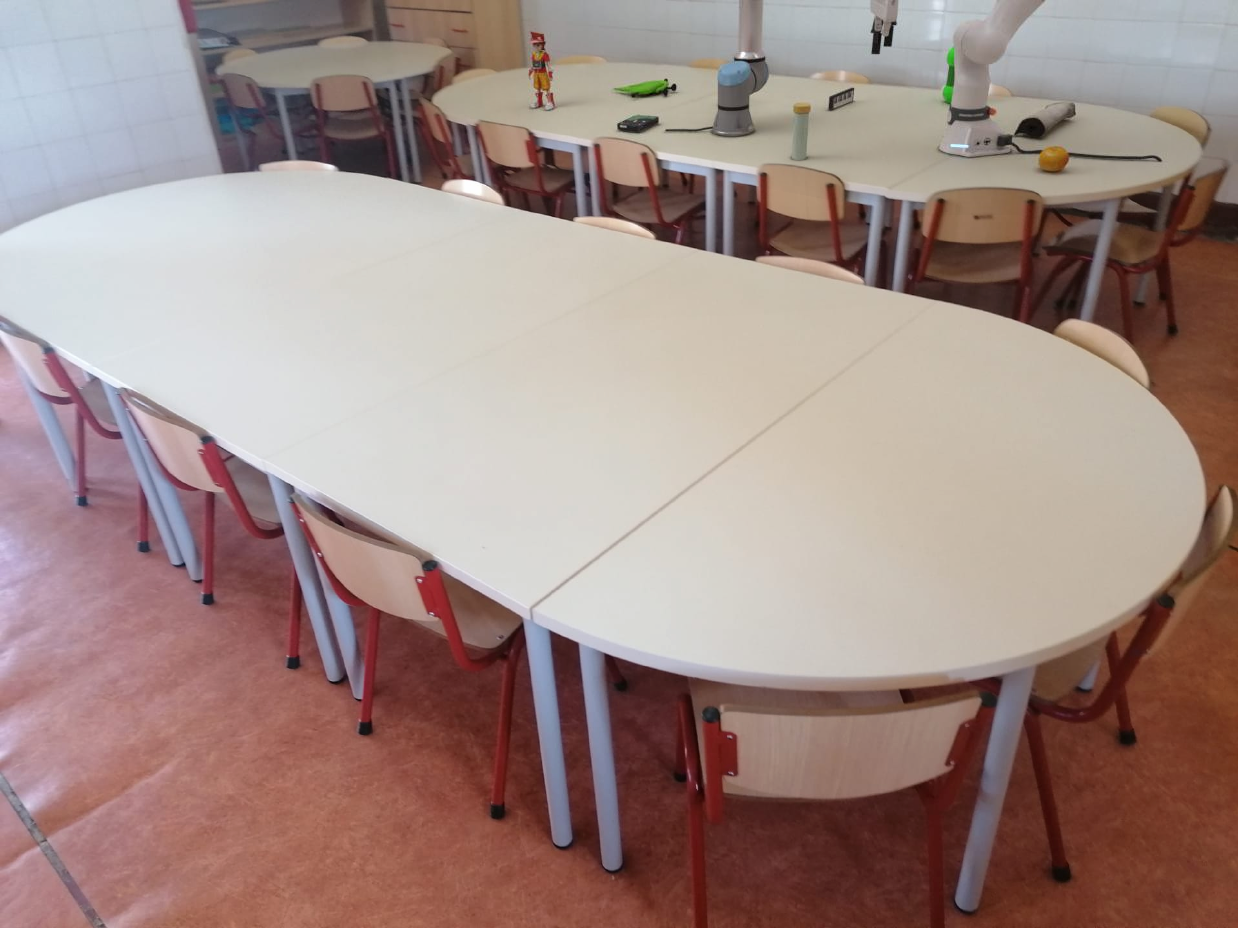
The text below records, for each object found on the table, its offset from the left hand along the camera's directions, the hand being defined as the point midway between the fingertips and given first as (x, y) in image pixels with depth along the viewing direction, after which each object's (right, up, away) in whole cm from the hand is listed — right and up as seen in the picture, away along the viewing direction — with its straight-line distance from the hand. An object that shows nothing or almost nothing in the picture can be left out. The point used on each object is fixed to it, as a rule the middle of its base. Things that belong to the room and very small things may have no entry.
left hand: (881, 50), depth 308 cm
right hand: (-8, -8, -28) cm, 30 cm away
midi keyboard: (-1, +2, +51) cm, 51 cm away
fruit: (+45, -51, -28) cm, 73 cm away
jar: (-29, -38, -3) cm, 48 cm away
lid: (-30, -24, -13) cm, 41 cm away
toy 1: (-123, +10, +75) cm, 144 cm away
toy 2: (-81, +22, +89) cm, 122 cm away
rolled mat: (+61, -23, +11) cm, 66 cm away
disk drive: (-83, -12, +40) cm, 93 cm away
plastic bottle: (+42, +1, +47) cm, 63 cm away
